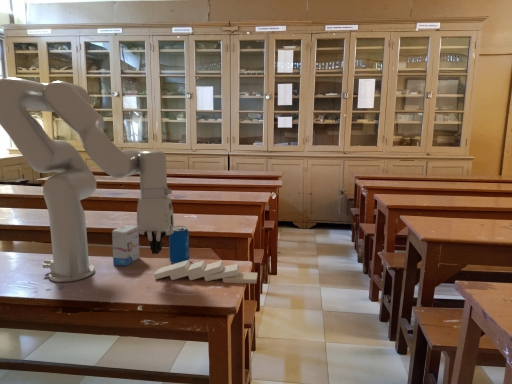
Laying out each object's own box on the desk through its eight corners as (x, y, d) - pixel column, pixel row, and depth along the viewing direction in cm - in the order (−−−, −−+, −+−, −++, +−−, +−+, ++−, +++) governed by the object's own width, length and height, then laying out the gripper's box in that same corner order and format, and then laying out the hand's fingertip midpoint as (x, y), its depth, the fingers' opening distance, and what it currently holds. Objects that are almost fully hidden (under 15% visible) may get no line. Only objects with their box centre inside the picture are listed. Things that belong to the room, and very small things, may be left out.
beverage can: (182, 266, 114) (181, 231, 112) (166, 264, 116) (164, 229, 114) (192, 260, 120) (192, 226, 118) (176, 257, 122) (175, 224, 120)
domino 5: (222, 278, 103) (256, 279, 102) (225, 271, 107) (257, 272, 107) (222, 283, 103) (256, 284, 102) (225, 276, 108) (257, 277, 107)
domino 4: (204, 276, 103) (236, 269, 102) (207, 269, 108) (238, 263, 107) (205, 281, 103) (238, 274, 103) (208, 274, 108) (239, 268, 107)
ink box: (126, 266, 114) (124, 231, 112) (112, 265, 115) (110, 230, 113) (140, 257, 122) (138, 225, 120) (127, 256, 123) (125, 224, 121)
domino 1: (153, 274, 104) (184, 265, 103) (159, 268, 109) (188, 259, 108) (155, 279, 104) (186, 270, 103) (161, 272, 109) (190, 264, 108)
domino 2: (169, 275, 104) (201, 266, 102) (174, 269, 108) (204, 260, 107) (171, 280, 104) (202, 271, 103) (176, 273, 109) (206, 264, 108)
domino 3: (188, 275, 103) (219, 266, 102) (191, 269, 108) (222, 260, 107) (190, 280, 103) (221, 271, 102) (193, 273, 108) (223, 264, 107)
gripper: (182, 191, 105) (184, 249, 109) (134, 190, 106) (137, 247, 110) (175, 195, 98) (176, 257, 101) (123, 194, 99) (127, 256, 102)
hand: (156, 252), depth 105 cm, fingers closed
